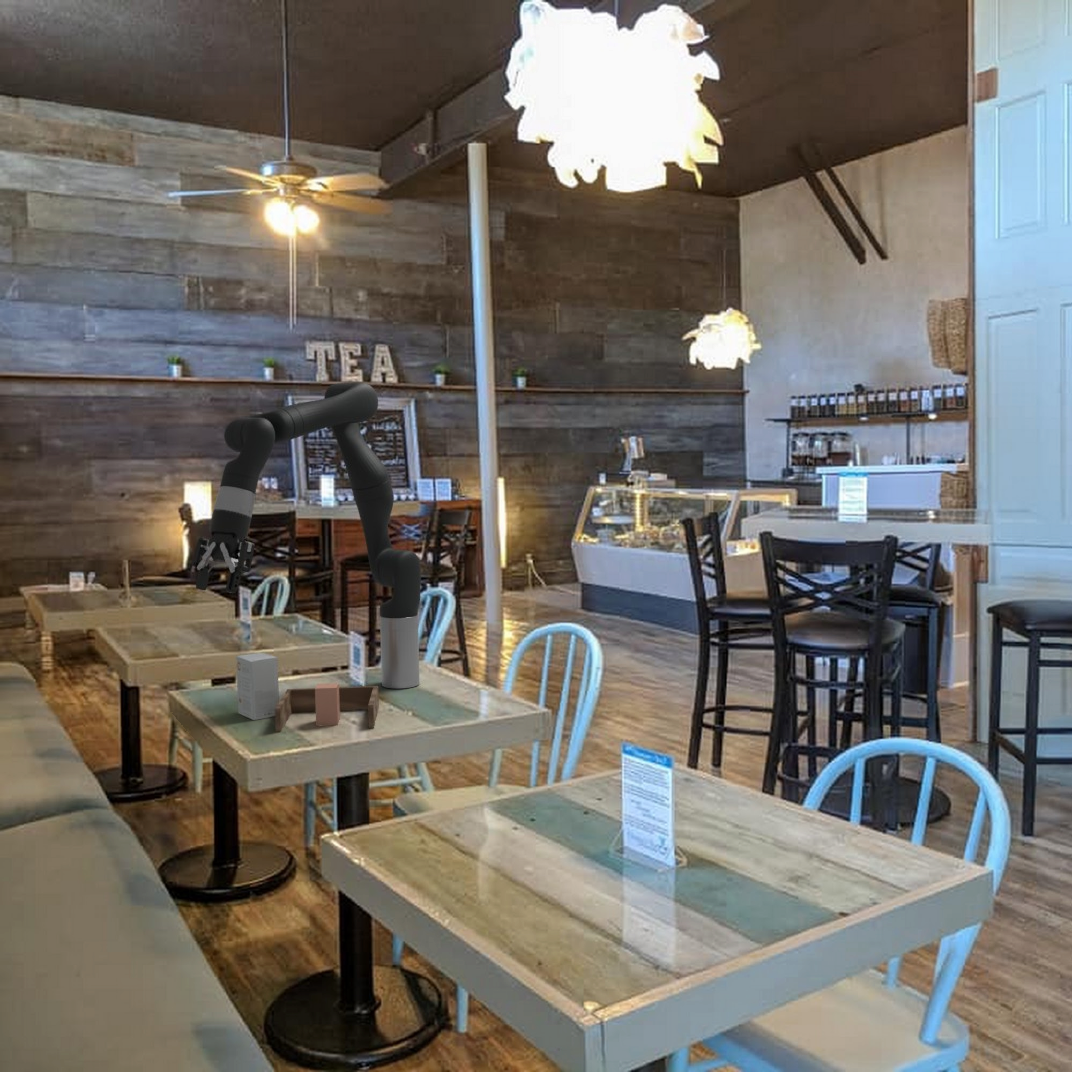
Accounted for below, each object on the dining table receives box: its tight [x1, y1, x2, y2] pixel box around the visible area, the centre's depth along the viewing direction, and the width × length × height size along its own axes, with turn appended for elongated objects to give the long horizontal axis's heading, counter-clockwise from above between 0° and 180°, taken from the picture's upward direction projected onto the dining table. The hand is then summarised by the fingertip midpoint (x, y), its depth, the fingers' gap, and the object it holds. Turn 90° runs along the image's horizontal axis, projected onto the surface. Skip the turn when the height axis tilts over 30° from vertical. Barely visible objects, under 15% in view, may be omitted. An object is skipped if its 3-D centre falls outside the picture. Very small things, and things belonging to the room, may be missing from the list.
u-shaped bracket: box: [274, 685, 380, 733], centre depth 223 cm, size 17×20×5 cm
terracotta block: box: [314, 682, 341, 726], centre depth 220 cm, size 4×4×8 cm
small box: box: [235, 652, 280, 721], centre depth 227 cm, size 8×6×13 cm
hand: (215, 591), depth 206 cm, fingers open, 8 cm apart
